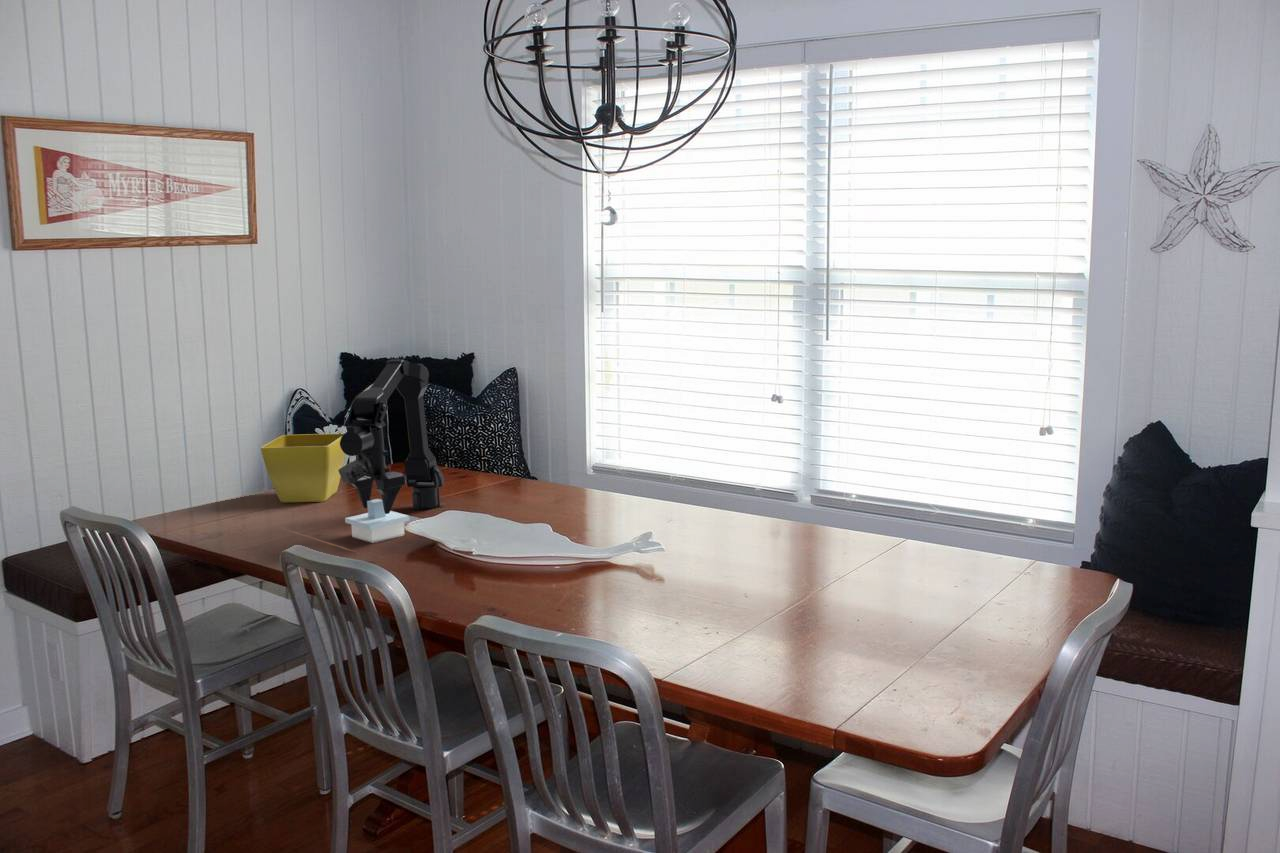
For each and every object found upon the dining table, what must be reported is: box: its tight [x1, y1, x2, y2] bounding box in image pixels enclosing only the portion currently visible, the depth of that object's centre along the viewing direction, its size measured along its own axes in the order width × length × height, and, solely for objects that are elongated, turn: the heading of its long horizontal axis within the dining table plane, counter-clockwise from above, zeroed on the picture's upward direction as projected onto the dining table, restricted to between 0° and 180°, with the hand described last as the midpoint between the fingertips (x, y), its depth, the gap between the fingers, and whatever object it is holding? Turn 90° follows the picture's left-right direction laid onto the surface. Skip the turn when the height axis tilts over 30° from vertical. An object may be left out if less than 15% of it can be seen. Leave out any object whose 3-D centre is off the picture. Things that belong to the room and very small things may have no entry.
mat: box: [396, 511, 422, 526], centre depth 280 cm, size 13×13×1 cm
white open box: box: [350, 522, 405, 544], centre depth 266 cm, size 9×9×4 cm
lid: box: [344, 498, 410, 530], centre depth 265 cm, size 11×11×5 cm
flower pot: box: [260, 432, 346, 503], centre depth 311 cm, size 19×19×17 cm
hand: (376, 510), depth 265 cm, fingers open, 9 cm apart
